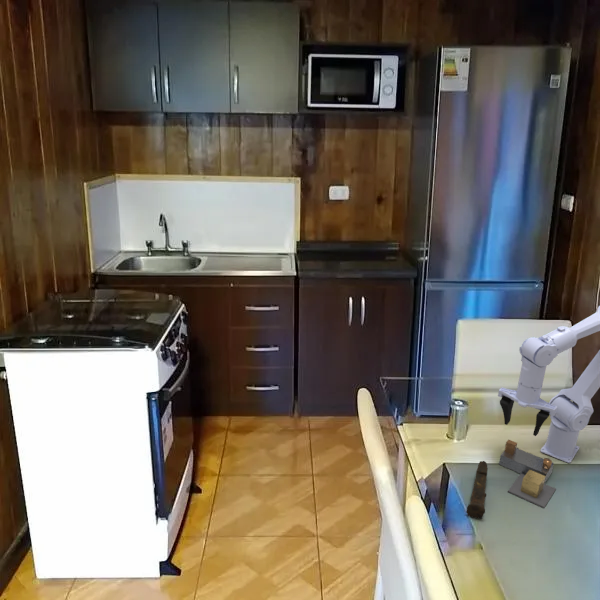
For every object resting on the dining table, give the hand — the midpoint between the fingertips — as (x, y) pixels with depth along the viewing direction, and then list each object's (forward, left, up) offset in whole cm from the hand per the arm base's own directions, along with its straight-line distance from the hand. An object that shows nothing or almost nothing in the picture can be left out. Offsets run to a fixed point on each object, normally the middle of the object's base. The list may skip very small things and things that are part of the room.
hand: (521, 428), depth 159 cm
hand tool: (+20, -2, -10) cm, 23 cm away
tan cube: (+10, +8, -10) cm, 16 cm away
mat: (+10, +8, -10) cm, 16 cm away
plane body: (+2, +4, -10) cm, 11 cm away
